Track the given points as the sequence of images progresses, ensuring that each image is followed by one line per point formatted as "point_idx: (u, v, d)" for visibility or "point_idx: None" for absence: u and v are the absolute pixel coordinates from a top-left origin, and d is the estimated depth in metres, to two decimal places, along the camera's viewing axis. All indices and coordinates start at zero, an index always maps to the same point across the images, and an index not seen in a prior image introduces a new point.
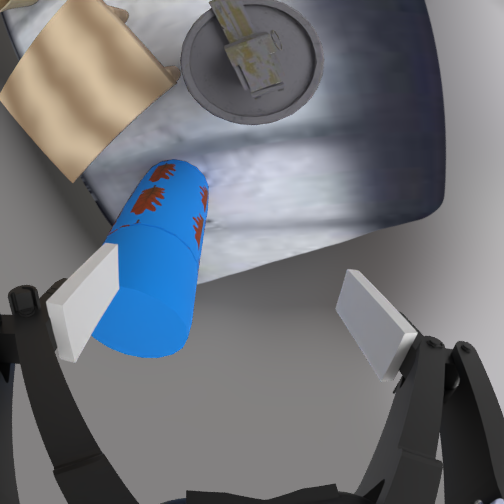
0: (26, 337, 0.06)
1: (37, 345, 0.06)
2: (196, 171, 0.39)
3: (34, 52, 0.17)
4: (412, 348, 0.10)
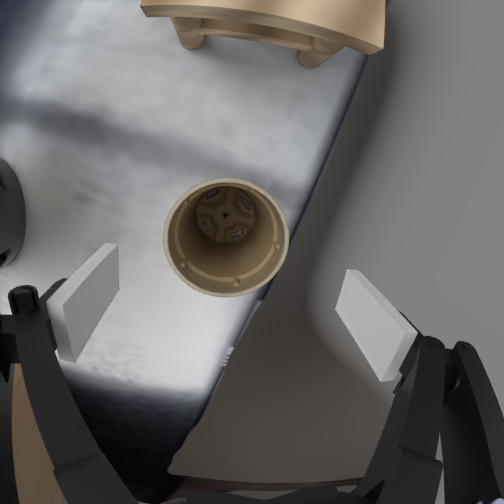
0: (26, 337, 0.06)
1: (37, 345, 0.06)
2: None
3: (276, 1, 0.13)
4: (412, 347, 0.10)
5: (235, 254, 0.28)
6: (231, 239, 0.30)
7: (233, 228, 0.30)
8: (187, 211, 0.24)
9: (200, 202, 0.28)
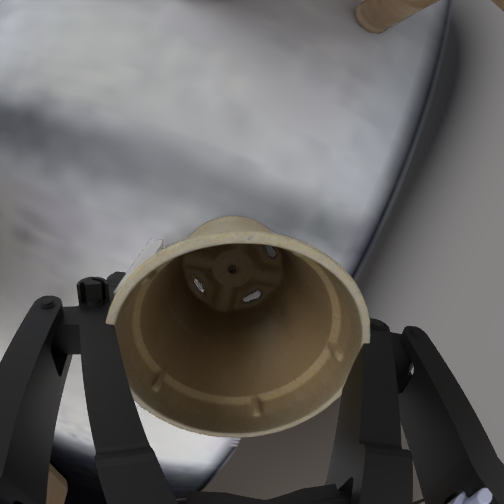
0: (90, 326, 0.08)
1: (101, 335, 0.08)
2: None
3: None
4: None
5: (251, 339, 0.16)
6: (243, 305, 0.18)
7: (246, 289, 0.18)
8: (159, 280, 0.12)
9: None
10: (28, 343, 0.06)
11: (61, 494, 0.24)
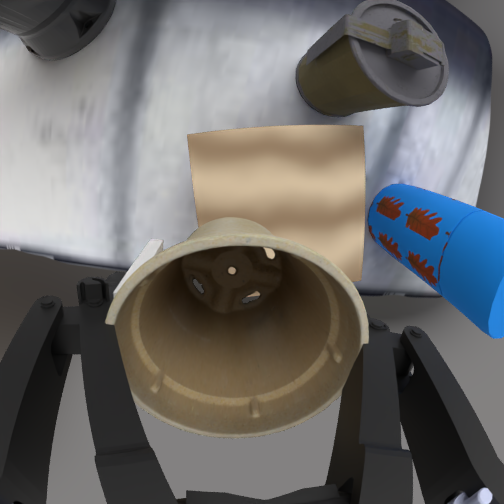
0: (90, 326, 0.08)
1: (101, 335, 0.08)
2: (397, 185, 0.37)
3: None
4: None
5: (250, 340, 0.16)
6: (242, 306, 0.18)
7: (245, 290, 0.18)
8: (158, 281, 0.12)
9: None
10: (28, 343, 0.06)
11: None
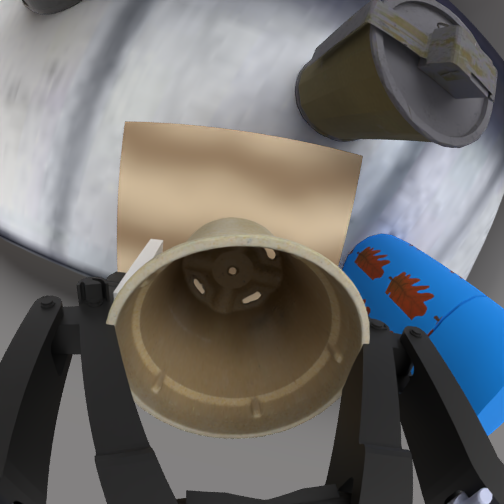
0: (90, 326, 0.08)
1: (101, 335, 0.08)
2: (387, 236, 0.32)
3: (132, 246, 0.19)
4: None
5: (251, 340, 0.16)
6: (242, 307, 0.18)
7: (246, 290, 0.18)
8: (159, 282, 0.12)
9: None
10: (28, 343, 0.06)
11: None
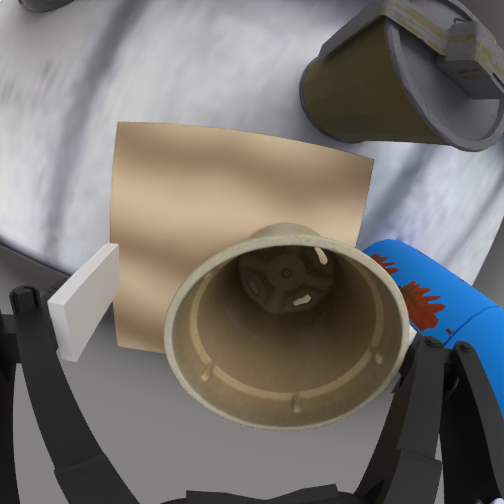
0: (26, 337, 0.06)
1: (38, 345, 0.06)
2: (395, 242, 0.31)
3: (126, 256, 0.17)
4: (411, 347, 0.10)
5: (298, 340, 0.16)
6: (292, 308, 0.19)
7: (297, 293, 0.18)
8: (218, 277, 0.13)
9: None
10: None
11: None
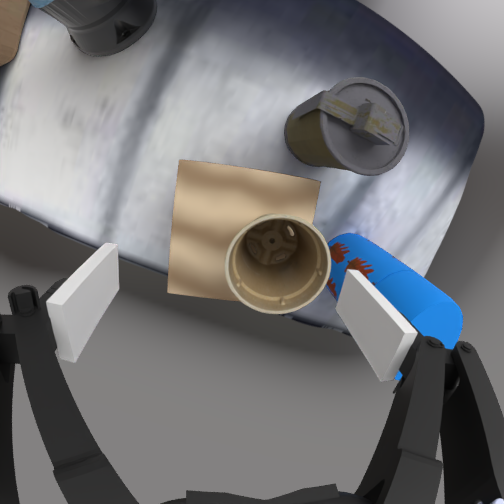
0: (25, 337, 0.06)
1: (37, 345, 0.06)
2: (352, 234, 0.46)
3: (180, 234, 0.32)
4: (412, 348, 0.10)
5: (280, 276, 0.32)
6: (275, 262, 0.34)
7: (278, 252, 0.34)
8: (242, 238, 0.28)
9: (250, 228, 0.33)
10: None
11: None
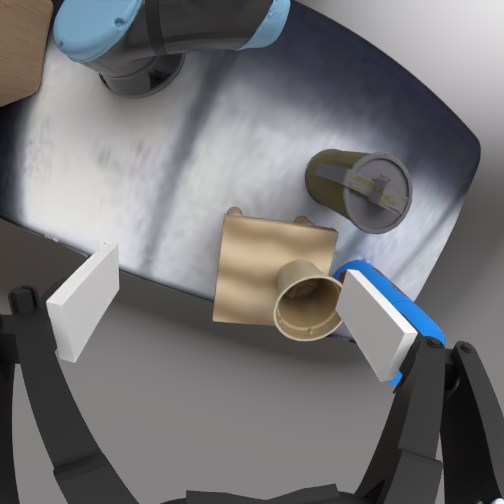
0: (25, 337, 0.06)
1: (37, 345, 0.06)
2: (359, 262, 0.54)
3: (225, 276, 0.41)
4: (412, 347, 0.10)
5: (305, 308, 0.40)
6: (300, 295, 0.42)
7: (302, 288, 0.42)
8: (282, 284, 0.36)
9: None
10: None
11: None
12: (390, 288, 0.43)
